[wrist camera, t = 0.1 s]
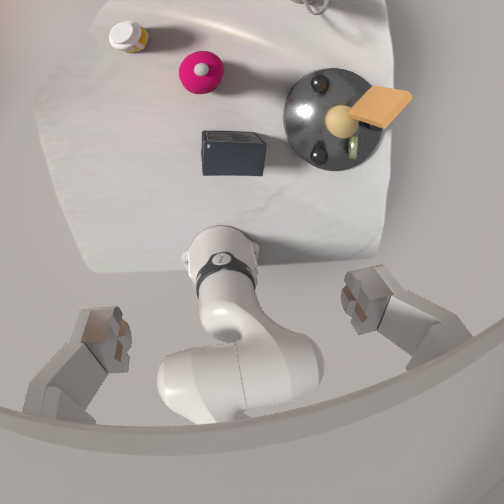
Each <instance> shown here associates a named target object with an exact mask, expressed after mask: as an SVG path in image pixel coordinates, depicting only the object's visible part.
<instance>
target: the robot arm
mask: <svg viewBox="0 0 504 504" xmlns="http://www.w3.org/2000/svg"><path fill="white" fill-rule="evenodd" d="M259 251H260V247H259V244H257V243H256V242H253V241H251V240H249V239H248V238H247V237H246V236H245V235H244V234H243V233H242V232H240V231H239V230H237V229H235V228H232V227H227V226H216V227H212V228H209V229H206V230H205V231H203V232H201V233H200V234H199V235H198V236H197V237H196V238H195V239H194V241H193V243H192V245H191V246H190V248H189V249H188V250H186V251H185V252H184V253H183V254H182V256H181V258H182V261H183V263H184V265H185V267H186V269H187V271H188V273H189V276H190V277H191V279H192V281H193V283H194V285H195V287H196V291H197V296H198V299H199V310H200V321H201V323H202V326H203V327H204V329H205V330H206V331H207V332H208V333H209V334H210V335H212V336H213V337H214V338H216V339H218V340H221V341H223V342H227V343H225V344H218V345H210V346H202V347H194V348H190V349H187V350H184V351H180V352H177V353H174V354H171V355H168V356H166V357H165V358H164V360H163V361H162V363H161V365H160V367H159V370H158V373H157V387H158V391H159V394H160V396H161V398H162V400H163V401H164V403H165V404H166V405H167V406H168V407H169V408H170V409H171V410H172V411H174V412H175V413H177V414H180V415H181V416H183V417H185V418H187V419H189V420H190V421H192V422H193V423H195V424H196V425H184V426H160V427H133V426H132V427H131V426H110V425H109V426H108V425H97V424H96V420H95V419H94V418H93V417H92V416H91V415H89V414H88V413H87V412H86V411H85V410H86V408H87V407H88V405H89V403H90V402H91V400H92V398H93V397H94V396H95V394H96V392H97V391H98V389H99V388H100V386H101V385H102V383H103V382H104V380H105V379H106V377H107V375H108V373H122V372H123V373H124V372H128V369H129V359H130V357H129V355H128V353H127V351H128V350H129V349H130V348H131V344H132V337H131V330H130V327H129V325H128V323H127V322H126V321H124V320H123V319H122V315H123V314H122V312H121V310H120V308H119V307H116V306H115V307H102V308H92V309H82V310H81V311H80V312H79V314H78V317H77V320H76V323H75V326H74V329H73V332H72V335H71V338H70V341H69V343H68V344H65V345H64V346H63V347H62V348H61V349H60V350H59V351H58V352H57V353H56V354H55V356H53V357H52V359H51V360H50V361H49V362H48V363H47V364H46V365H45V366H44V367H43V368H42V369H41V370H40V372H39V373H38V374H37V375H36V376H35V377H34V378H33V379H32V381H31V382H30V383H29V386H28V390H27V394H26V398H25V402H24V407H23V411H22V412H18V411H14V410H11V409H7V408H3V407H0V504H504V318H502V319H501V320H499V321H498V322H497V323H495V324H493V325H492V326H490V327H489V328H487V329H486V330H484V331H483V332H481V333H480V334H478V335H477V336H475V337H473V336H472V335H471V334H470V332H469V331H468V329H467V328H466V327H465V325H464V324H463V323H462V321H461V320H460V319H459V317H458V316H457V315H456V314H454V313H452V312H450V311H448V310H446V309H444V308H442V307H440V306H438V305H436V304H434V303H432V302H430V301H428V300H426V299H424V298H422V297H420V296H418V295H416V294H414V293H412V292H410V291H405V290H404V289H403V288H402V286H401V285H400V284H399V283H398V281H397V280H396V279H395V278H394V277H393V275H392V274H391V273H390V272H389V270H388V269H387V268H386V267H385V266H384V265H378V266H373V267H370V268H365V269H360V270H355V271H350V272H347V273H346V275H345V279H344V281H345V283H346V284H347V285H346V286H345V287H344V288H343V289H342V294H341V302H342V306H343V309H344V311H345V313H346V314H348V315H350V316H351V317H352V319H351V323H352V325H353V327H354V329H355V330H356V332H357V334H358V335H361V334H364V333H368V332H372V331H376V330H377V331H378V332H379V333H381V334H382V335H383V336H385V337H386V338H387V339H389V340H390V341H392V342H393V343H394V344H396V345H397V346H398V347H400V348H401V349H403V350H404V351H405V352H407V353H408V354H410V355H411V356H412V358H411V360H410V361H409V363H408V364H407V366H406V370H407V372H405V373H403V374H400V375H398V376H396V377H393V378H391V379H389V380H386V381H383V382H381V383H378V384H376V385H373V386H370V387H367V388H365V389H362V390H359V391H356V392H353V393H350V394H347V395H344V396H341V397H337V398H334V399H331V400H327V401H324V402H321V403H317V404H313V405H309V406H305V407H301V408H297V409H293V410H289V411H284V412H280V413H275V414H270V415H265V416H259V417H254V418H251V417H249V416H247V415H246V414H245V413H243V411H246V410H247V409H254V408H260V407H265V406H271V405H276V404H281V403H286V402H290V401H292V400H294V399H297V398H299V397H302V396H304V395H306V394H308V393H310V392H312V391H314V390H316V389H317V388H318V386H319V384H320V382H321V380H322V377H323V373H324V360H323V356H322V353H321V351H320V349H319V347H318V346H317V344H316V343H315V342H314V341H313V340H312V339H310V338H309V337H308V336H306V335H304V334H300V333H296V332H293V331H290V330H288V329H286V328H284V327H282V326H280V325H278V324H277V323H276V322H274V321H273V320H272V319H270V318H269V317H268V316H267V315H266V314H265V313H264V311H263V310H262V308H261V307H260V304H259V301H258V299H257V296H256V293H255V286H257V277H255V275H257V274H258V271H257V269H256V268H257V261H258V256H259ZM254 252H255V253H254ZM187 261H188V262H187ZM235 346H236V349H235ZM236 351H237V355H236ZM237 357H238V360H237ZM238 363H239V366H238ZM239 368H240V372H239ZM240 373H241V377H240ZM241 379H242V383H241ZM242 385H243V388H242ZM243 390H244V394H243ZM244 395H245V399H244ZM245 401H246V404H245ZM246 406H247V409H246Z"/></svg>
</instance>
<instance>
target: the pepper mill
mask: <svg viewBox="0 0 504 504" xmlns="http://www.w3.org/2000/svg"><path fill="white" fill-rule="evenodd" d="M223 74H224V66H223V63H222V61H221V60H220V58H219V57H218V56H217V55H215V54H214V53H211V52H208V51H198V52H194V53H192V54H190V55H188V56H187V57H186V58H185V59H184V60H183V61H182V63H181V65H180V68H179V77H180V80H181V82H182V84H183V86H184V87H185V88H186V89H187V90H188V91H190V92H192V93H195V94H206V93H209V92H211V91H213V90H214V89H215V88H216V87H217V86H218V85H219V84H220V82H221V79H222V77H223Z"/></svg>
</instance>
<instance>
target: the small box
mask: <svg viewBox="0 0 504 504" xmlns="http://www.w3.org/2000/svg"><path fill="white" fill-rule="evenodd" d="M265 152H266V143H265V142H263V141H262V140H261V139H260V138H259V137H258V136H257V135H256V134H255V133H254V132H239V131H203V132H202V151H201V155H202V174H203V176H216V175H232V176H263V170H264V161H265Z"/></svg>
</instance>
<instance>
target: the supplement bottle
mask: <svg viewBox="0 0 504 504" xmlns="http://www.w3.org/2000/svg"><path fill="white" fill-rule="evenodd" d="M148 41H149V35H148V33H147V31H146V30H144V29H143V28H142V27H141V26H140V25H139V24H138V23H136V22H134V21H124V22H121V23H118V24H116V25H115V26H114V27H113V28H112V30H111V32H110V43H111V45H112V46H113V47H115V48H116V49H119V50H122V51H124V52H127V53H137V52H140V51H141V50H143V49H144V48H145V47H146V45H147V44H148Z"/></svg>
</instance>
